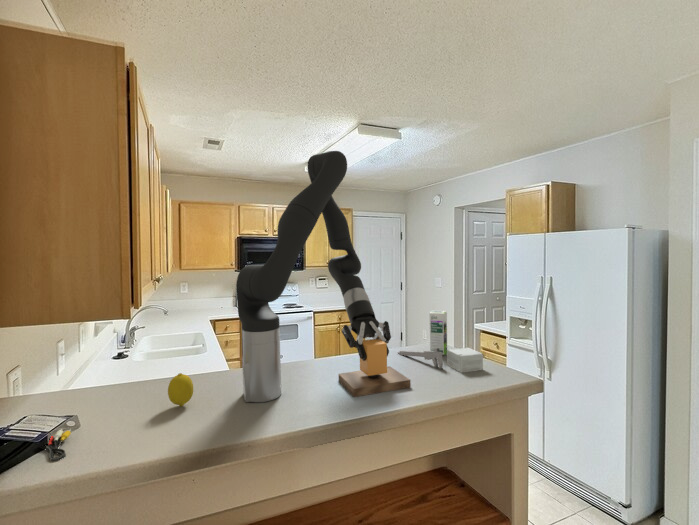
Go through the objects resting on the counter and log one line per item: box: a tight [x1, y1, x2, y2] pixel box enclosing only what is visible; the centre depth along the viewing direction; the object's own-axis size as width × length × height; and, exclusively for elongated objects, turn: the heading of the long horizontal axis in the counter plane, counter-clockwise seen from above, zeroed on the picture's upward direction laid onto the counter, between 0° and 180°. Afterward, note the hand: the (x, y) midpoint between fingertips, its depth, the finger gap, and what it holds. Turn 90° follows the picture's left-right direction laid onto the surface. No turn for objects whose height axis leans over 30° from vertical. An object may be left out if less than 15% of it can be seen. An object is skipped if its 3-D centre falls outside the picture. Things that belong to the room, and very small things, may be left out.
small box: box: [446, 347, 484, 373], centre depth 111 cm, size 8×8×5 cm
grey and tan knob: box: [368, 374, 379, 379], centre depth 98 cm, size 3×3×5 cm
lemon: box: [167, 372, 194, 407], centre depth 86 cm, size 6×6×8 cm
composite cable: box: [45, 428, 72, 462], centre depth 68 cm, size 10×5×2 cm, turn 33°
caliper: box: [397, 348, 444, 370], centre depth 118 cm, size 20×1×6 cm, turn 32°
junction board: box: [338, 365, 412, 398], centre depth 98 cm, size 16×12×2 cm
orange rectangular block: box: [359, 338, 388, 376], centre depth 98 cm, size 6×6×8 cm
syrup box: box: [429, 310, 448, 356], centre depth 126 cm, size 6×6×14 cm
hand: (375, 357), depth 97 cm, fingers closed on orange rectangular block, 5 cm apart
